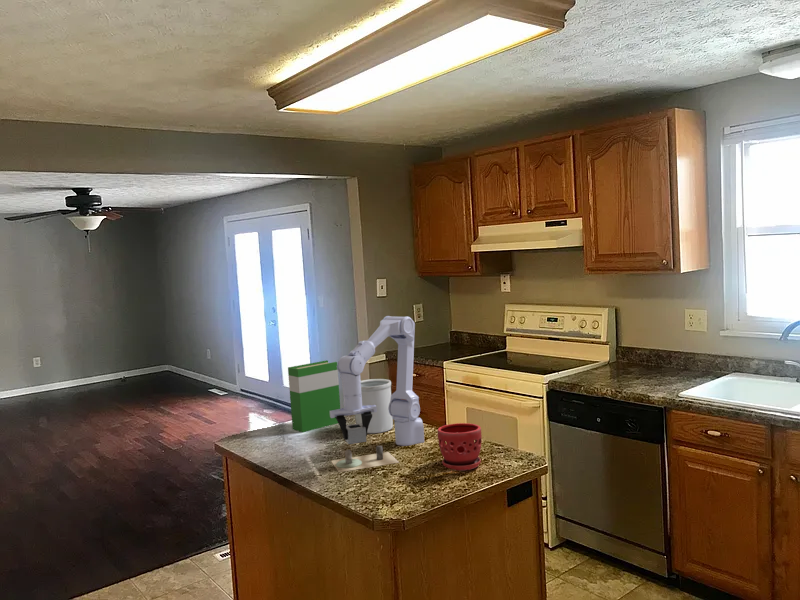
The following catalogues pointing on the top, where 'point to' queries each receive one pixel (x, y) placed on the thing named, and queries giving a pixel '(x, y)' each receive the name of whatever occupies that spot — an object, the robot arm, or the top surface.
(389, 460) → the board
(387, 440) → the top surface
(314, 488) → the top surface
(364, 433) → the steel collar
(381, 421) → the utensil holder
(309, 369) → the hardback book
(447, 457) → the plant pot
